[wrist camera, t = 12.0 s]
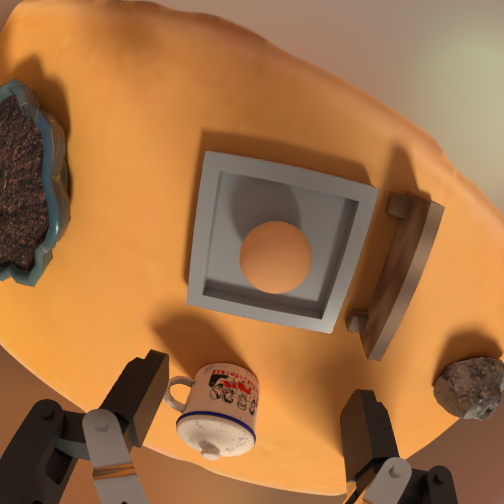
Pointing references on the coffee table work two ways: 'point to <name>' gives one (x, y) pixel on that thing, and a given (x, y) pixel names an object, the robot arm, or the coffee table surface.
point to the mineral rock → (471, 387)
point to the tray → (276, 209)
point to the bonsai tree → (30, 184)
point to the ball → (275, 257)
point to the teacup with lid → (218, 410)
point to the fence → (398, 271)
